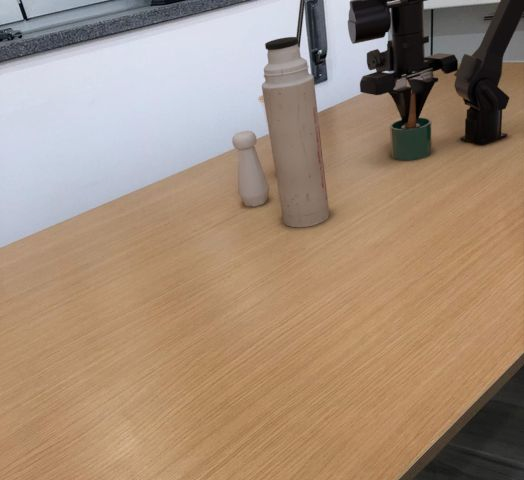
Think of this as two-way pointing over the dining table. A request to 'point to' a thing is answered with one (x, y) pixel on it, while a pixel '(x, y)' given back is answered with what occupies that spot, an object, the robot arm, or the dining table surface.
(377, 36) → the robot arm
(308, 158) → the thermos bottle
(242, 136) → the salt shaker
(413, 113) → the wooden peg on base
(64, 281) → the dining table surface
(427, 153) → the enamel cup
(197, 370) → the dining table surface
